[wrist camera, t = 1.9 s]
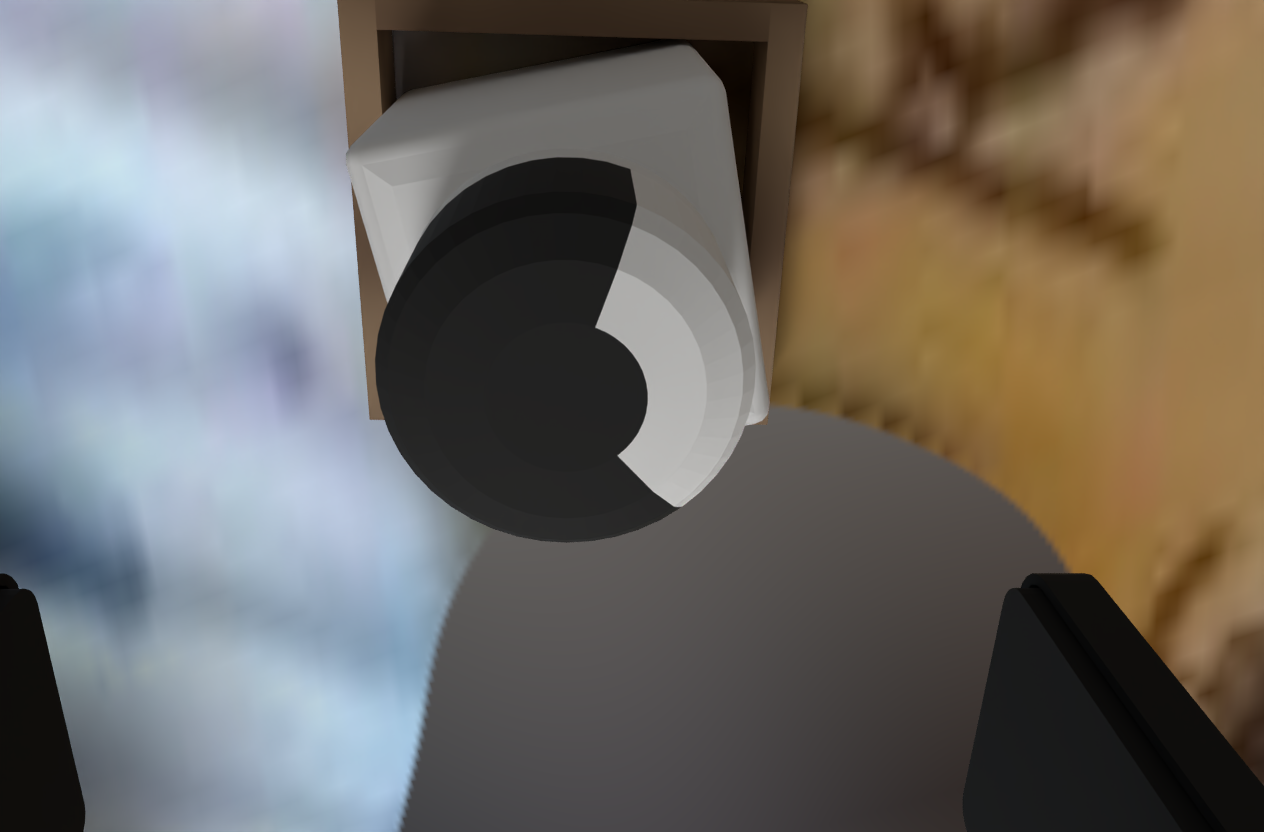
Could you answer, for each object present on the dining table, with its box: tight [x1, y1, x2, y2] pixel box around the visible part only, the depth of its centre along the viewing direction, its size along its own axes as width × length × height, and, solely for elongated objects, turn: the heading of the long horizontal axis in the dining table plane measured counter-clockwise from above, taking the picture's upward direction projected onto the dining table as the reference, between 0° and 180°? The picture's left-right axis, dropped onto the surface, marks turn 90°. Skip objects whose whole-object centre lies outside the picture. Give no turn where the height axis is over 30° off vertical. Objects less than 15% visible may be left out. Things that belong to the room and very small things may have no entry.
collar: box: [337, 0, 808, 425], centre depth 26 cm, size 10×10×2 cm
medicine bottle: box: [346, 39, 770, 542], centre depth 22 cm, size 7×7×12 cm
